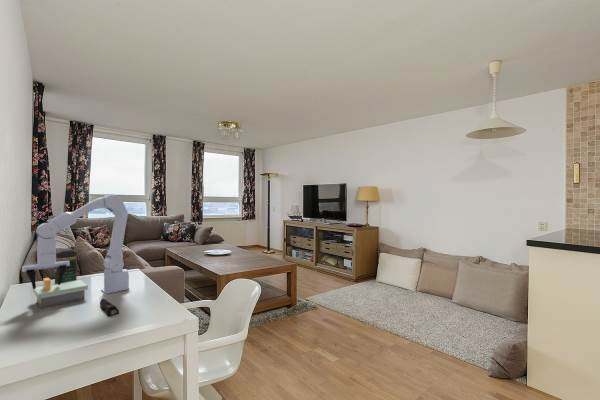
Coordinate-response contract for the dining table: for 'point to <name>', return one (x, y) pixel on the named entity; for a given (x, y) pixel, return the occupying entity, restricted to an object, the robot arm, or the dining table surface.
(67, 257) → the coffee jar
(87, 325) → the dining table surface
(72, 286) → the lid
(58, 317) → the dining table surface
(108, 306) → the electric trimmer
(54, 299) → the tub
